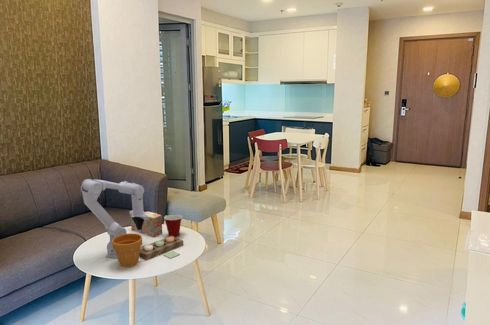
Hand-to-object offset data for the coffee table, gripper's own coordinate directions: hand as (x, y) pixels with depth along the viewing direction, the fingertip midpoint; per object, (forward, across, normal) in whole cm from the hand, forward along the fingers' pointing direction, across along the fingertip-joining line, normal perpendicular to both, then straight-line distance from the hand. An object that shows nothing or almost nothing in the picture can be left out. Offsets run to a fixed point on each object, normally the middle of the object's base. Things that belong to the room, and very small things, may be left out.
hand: (139, 229), depth 204 cm
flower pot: (+10, -14, +16) cm, 23 cm away
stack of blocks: (+10, +14, -14) cm, 22 cm away
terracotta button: (+8, -13, -10) cm, 19 cm away
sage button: (+8, -13, -3) cm, 16 cm away
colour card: (+10, -23, -3) cm, 25 cm away
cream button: (+8, -13, +4) cm, 16 cm away
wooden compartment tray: (+9, -13, -3) cm, 17 cm away
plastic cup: (+10, -4, -21) cm, 23 cm away
